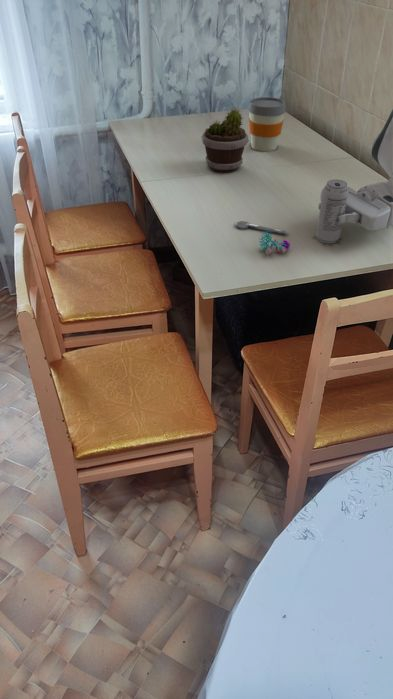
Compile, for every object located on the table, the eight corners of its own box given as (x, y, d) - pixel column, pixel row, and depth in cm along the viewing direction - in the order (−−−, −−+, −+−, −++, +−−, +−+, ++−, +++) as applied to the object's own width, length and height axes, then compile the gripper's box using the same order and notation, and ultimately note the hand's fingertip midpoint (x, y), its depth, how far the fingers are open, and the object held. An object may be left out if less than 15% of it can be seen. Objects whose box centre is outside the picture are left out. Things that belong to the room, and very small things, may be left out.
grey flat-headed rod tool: (287, 231, 144) (288, 228, 143) (284, 237, 141) (284, 234, 141) (239, 222, 148) (239, 218, 147) (234, 227, 145) (234, 224, 145)
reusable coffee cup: (264, 155, 187) (267, 109, 177) (239, 145, 194) (241, 101, 185) (288, 147, 193) (293, 102, 183) (263, 138, 200) (267, 94, 191)
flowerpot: (191, 166, 179) (191, 102, 166) (225, 155, 187) (228, 93, 174) (221, 179, 170) (224, 113, 158) (255, 167, 178) (260, 103, 165)
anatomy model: (294, 244, 129) (290, 227, 134) (260, 244, 129) (258, 228, 134) (291, 261, 133) (288, 244, 138) (259, 261, 133) (256, 245, 138)
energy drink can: (337, 233, 143) (347, 178, 134) (340, 244, 139) (351, 188, 129) (314, 233, 143) (322, 178, 134) (317, 244, 139) (326, 188, 129)
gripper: (347, 176, 146) (305, 185, 141) (402, 205, 132) (358, 217, 127) (343, 198, 150) (302, 208, 145) (396, 228, 136) (353, 241, 131)
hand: (329, 212), depth 136 cm, fingers closed on energy drink can, 6 cm apart
